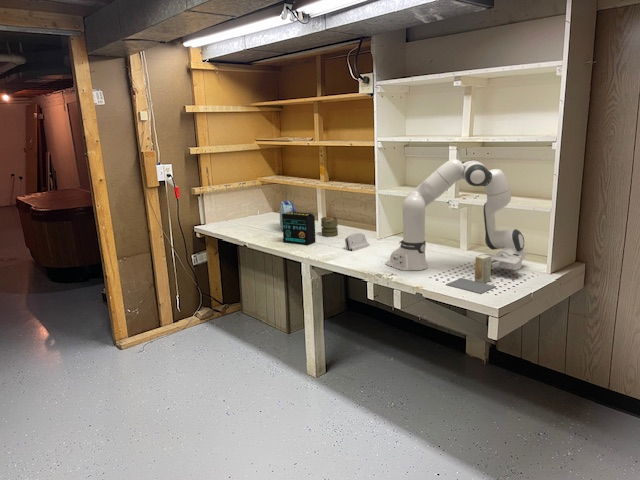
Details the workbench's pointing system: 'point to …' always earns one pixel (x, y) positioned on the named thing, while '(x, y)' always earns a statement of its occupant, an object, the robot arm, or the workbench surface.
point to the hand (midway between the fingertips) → (490, 264)
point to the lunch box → (285, 209)
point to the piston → (329, 227)
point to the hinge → (356, 242)
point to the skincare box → (482, 268)
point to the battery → (299, 228)
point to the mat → (471, 285)
